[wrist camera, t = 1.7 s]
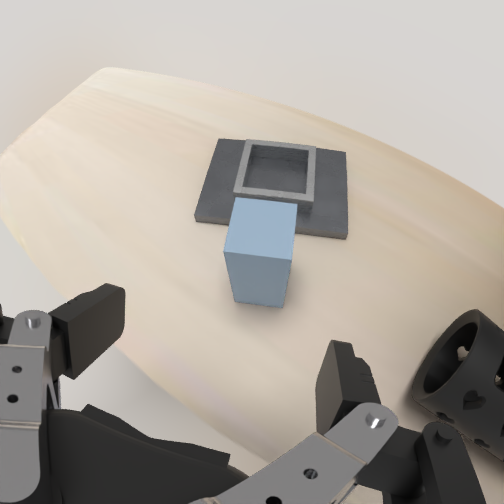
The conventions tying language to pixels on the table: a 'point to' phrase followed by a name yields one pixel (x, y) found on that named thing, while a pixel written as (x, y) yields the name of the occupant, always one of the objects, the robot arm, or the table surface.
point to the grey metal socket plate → (278, 183)
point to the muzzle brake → (467, 380)
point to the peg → (260, 250)
